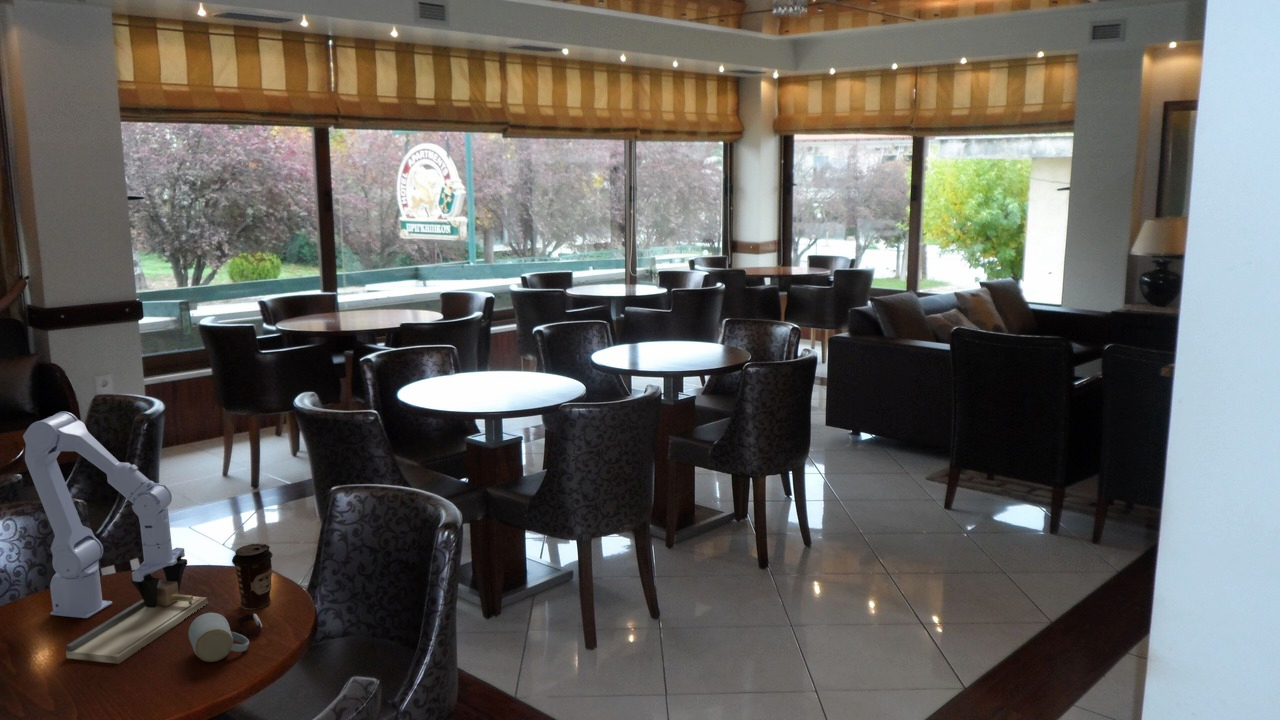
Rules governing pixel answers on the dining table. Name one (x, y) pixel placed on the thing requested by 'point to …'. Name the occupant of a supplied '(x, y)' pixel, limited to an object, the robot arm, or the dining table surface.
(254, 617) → the watch
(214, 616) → the ceramic mug
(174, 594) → the marking gauge
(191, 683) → the dining table surface
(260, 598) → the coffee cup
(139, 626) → the cream flat tray
